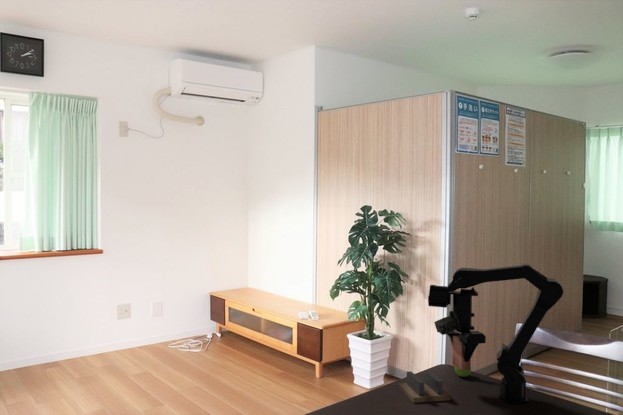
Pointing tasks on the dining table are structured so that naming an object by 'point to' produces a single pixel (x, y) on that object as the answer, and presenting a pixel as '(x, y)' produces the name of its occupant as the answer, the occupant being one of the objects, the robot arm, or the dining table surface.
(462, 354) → the reddish brown block
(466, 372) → the snail figurine
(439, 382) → the bookend shelf
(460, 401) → the dining table surface
